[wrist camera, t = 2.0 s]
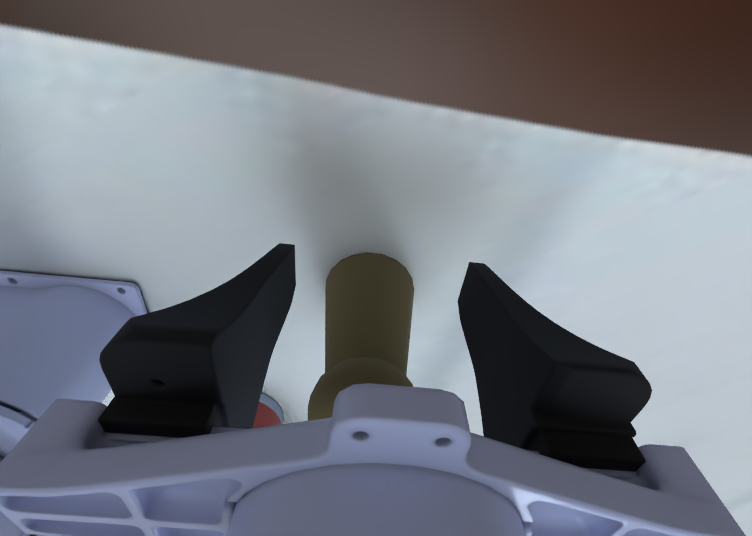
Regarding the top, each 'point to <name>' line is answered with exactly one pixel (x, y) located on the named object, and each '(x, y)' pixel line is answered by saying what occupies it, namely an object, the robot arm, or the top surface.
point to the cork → (364, 328)
